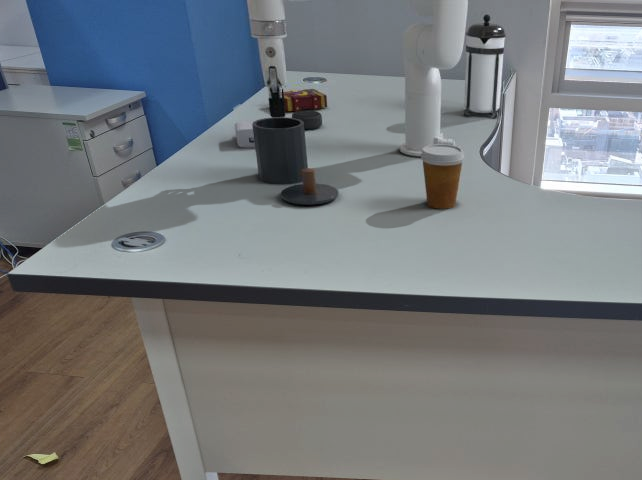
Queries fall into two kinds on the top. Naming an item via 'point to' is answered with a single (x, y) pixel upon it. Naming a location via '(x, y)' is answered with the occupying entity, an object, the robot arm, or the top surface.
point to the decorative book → (304, 100)
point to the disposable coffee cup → (442, 174)
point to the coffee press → (484, 67)
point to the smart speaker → (309, 119)
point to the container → (280, 149)
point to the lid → (309, 190)
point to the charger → (245, 134)
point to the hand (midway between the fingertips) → (278, 111)
